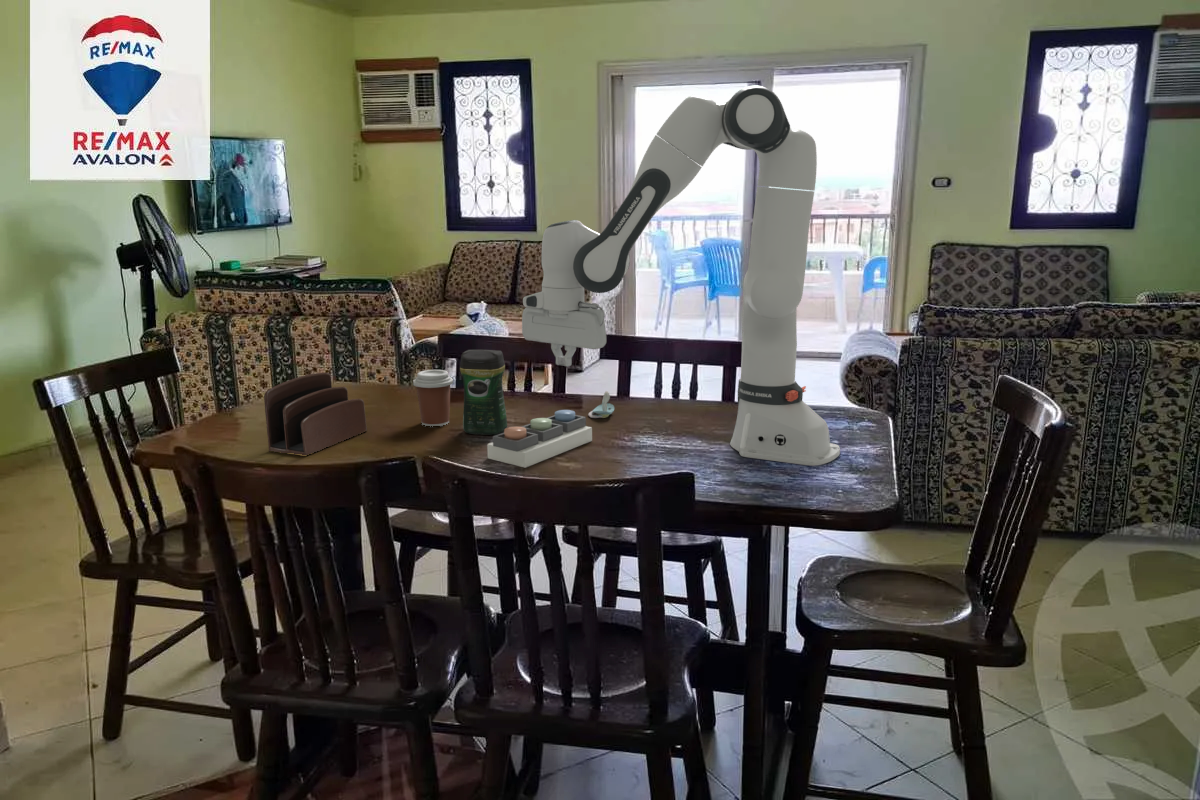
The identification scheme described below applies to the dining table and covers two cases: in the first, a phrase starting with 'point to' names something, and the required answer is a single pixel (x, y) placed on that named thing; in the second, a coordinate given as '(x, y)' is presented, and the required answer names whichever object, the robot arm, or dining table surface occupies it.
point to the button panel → (540, 442)
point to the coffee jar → (483, 392)
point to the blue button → (565, 415)
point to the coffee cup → (433, 396)
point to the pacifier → (603, 408)
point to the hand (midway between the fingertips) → (563, 365)
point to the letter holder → (311, 415)
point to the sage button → (541, 424)
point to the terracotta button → (515, 433)
